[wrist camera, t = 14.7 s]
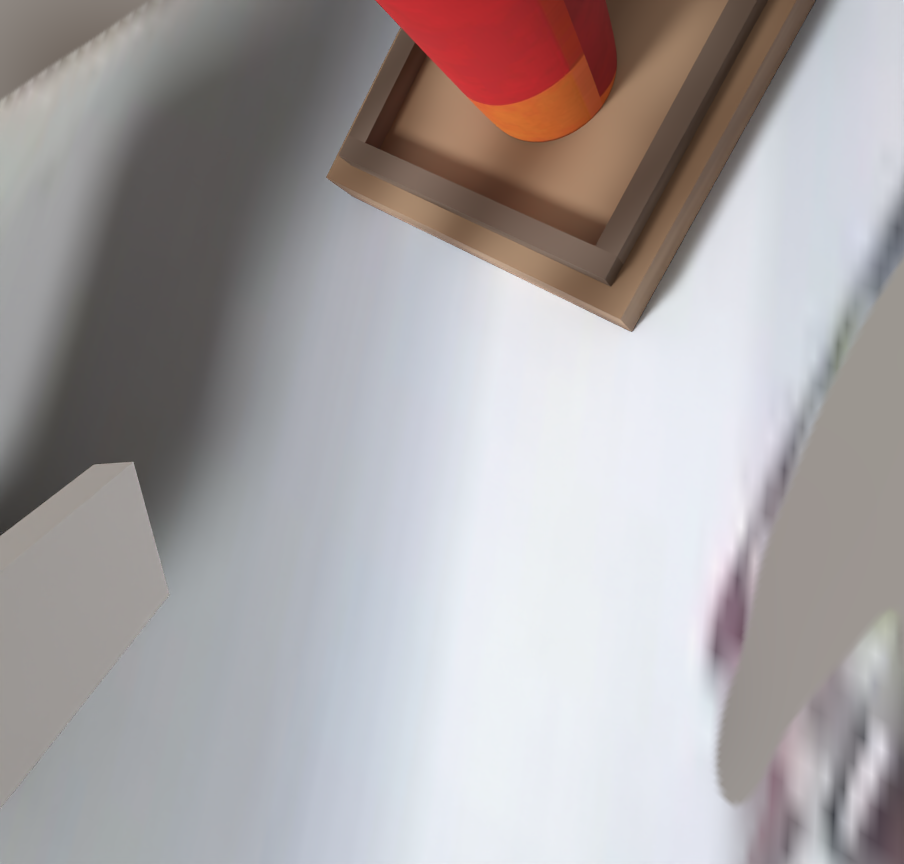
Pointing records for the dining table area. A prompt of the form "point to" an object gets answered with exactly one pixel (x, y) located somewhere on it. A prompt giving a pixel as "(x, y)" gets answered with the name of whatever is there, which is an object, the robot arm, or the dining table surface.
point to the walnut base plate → (576, 151)
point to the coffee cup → (519, 58)
